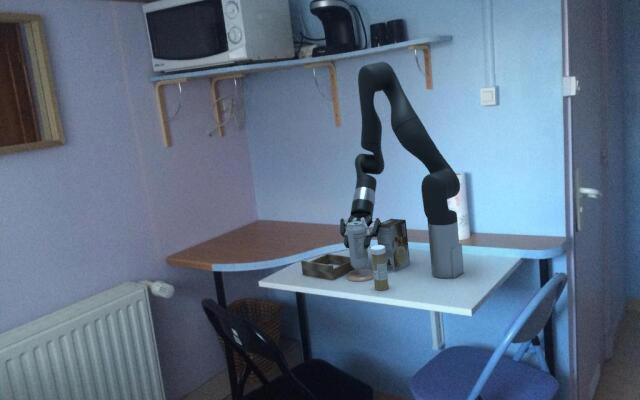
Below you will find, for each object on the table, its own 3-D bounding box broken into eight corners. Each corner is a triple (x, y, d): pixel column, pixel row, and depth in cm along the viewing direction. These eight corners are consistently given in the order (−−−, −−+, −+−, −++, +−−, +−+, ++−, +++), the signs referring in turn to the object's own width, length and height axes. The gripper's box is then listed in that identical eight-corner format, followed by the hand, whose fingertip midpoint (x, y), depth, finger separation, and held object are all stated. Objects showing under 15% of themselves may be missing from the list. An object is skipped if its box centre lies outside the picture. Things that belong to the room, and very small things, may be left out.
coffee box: (395, 262, 196) (391, 218, 193) (410, 264, 191) (406, 219, 188) (379, 270, 189) (375, 224, 186) (395, 272, 185) (390, 226, 182)
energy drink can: (364, 262, 189) (359, 219, 186) (372, 266, 183) (367, 223, 180) (348, 266, 187) (343, 223, 184) (355, 270, 181) (351, 226, 178)
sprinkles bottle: (373, 286, 175) (368, 245, 172) (387, 284, 175) (383, 243, 172) (376, 291, 170) (371, 249, 168) (390, 289, 171) (386, 247, 168)
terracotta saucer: (382, 273, 186) (382, 271, 185) (364, 283, 178) (364, 281, 178) (358, 269, 192) (358, 268, 192) (340, 279, 185) (340, 277, 185)
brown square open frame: (358, 267, 195) (357, 253, 194) (333, 280, 185) (331, 266, 184) (328, 262, 204) (327, 249, 203) (302, 274, 194) (301, 261, 193)
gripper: (340, 198, 190) (332, 242, 182) (380, 197, 184) (374, 242, 176) (346, 209, 196) (339, 252, 187) (386, 208, 190) (380, 252, 182)
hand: (356, 247), depth 182 cm, fingers closed on energy drink can, 6 cm apart
